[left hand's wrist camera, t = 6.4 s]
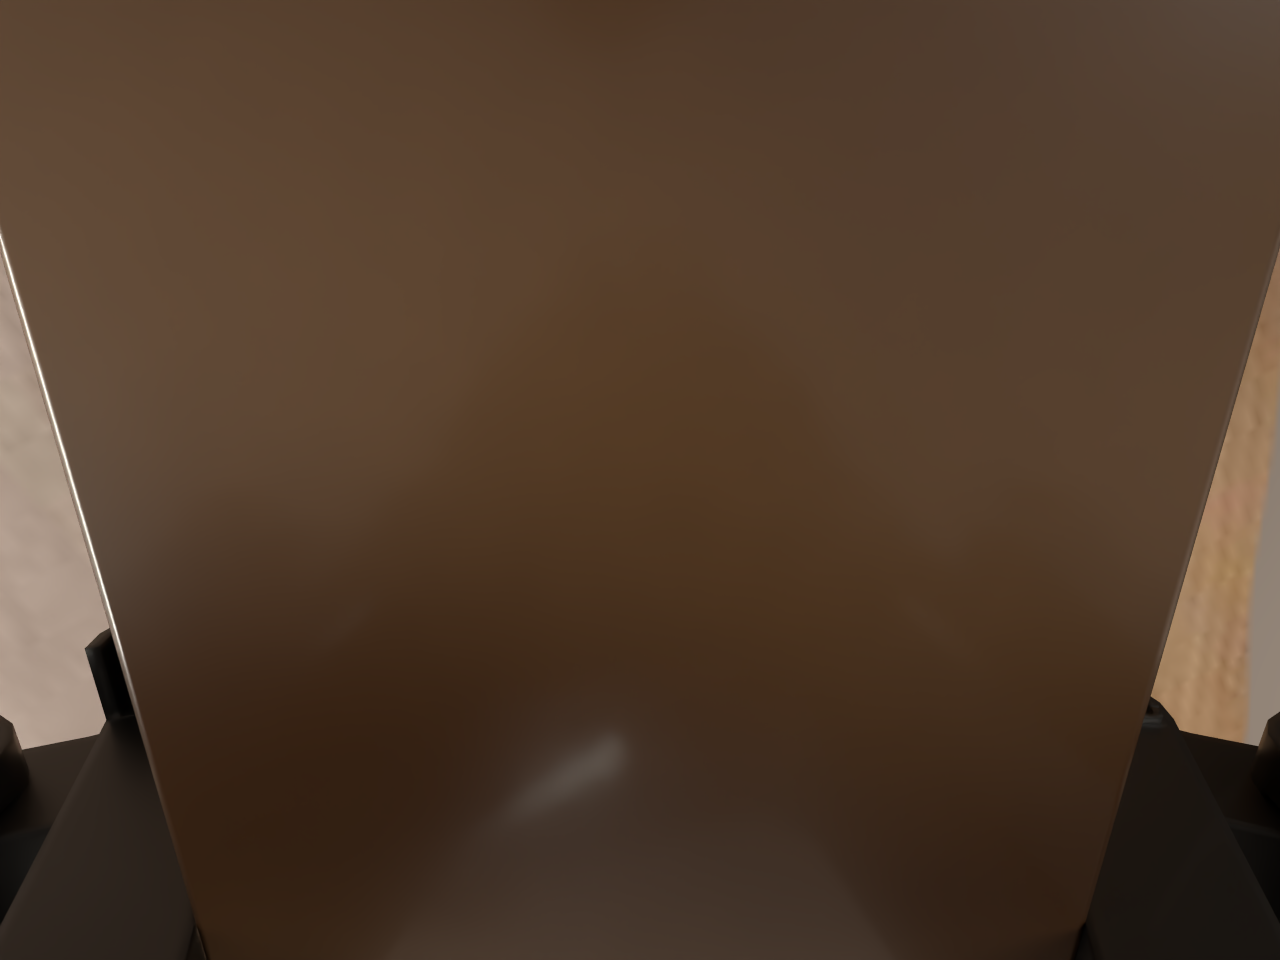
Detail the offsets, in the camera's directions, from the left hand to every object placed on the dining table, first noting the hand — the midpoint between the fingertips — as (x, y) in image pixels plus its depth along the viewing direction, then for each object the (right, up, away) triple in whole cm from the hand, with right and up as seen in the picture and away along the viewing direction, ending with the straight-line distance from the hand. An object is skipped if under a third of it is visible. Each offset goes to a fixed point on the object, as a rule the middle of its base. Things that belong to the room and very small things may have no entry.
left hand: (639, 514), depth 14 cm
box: (0, +8, -1) cm, 8 cm away
